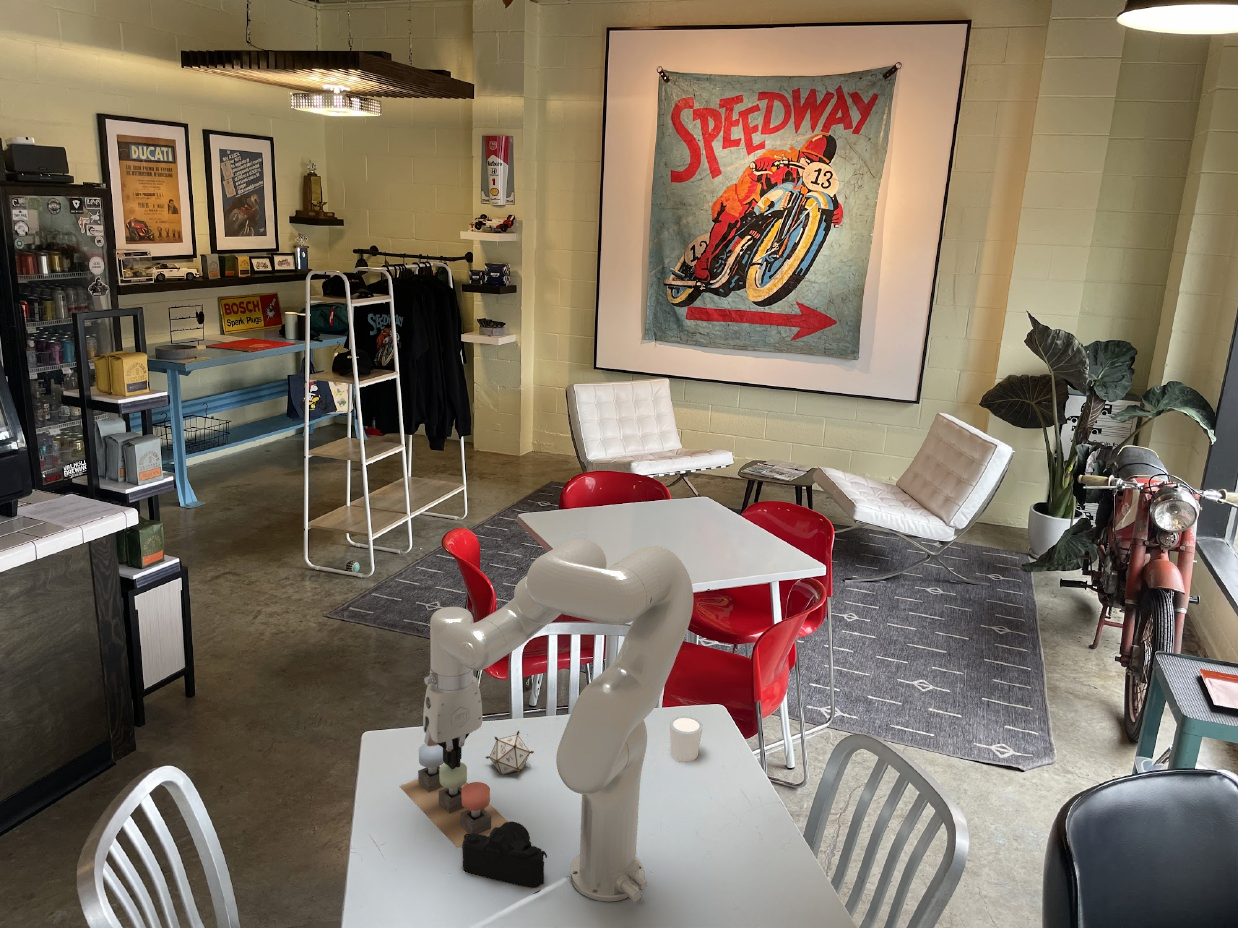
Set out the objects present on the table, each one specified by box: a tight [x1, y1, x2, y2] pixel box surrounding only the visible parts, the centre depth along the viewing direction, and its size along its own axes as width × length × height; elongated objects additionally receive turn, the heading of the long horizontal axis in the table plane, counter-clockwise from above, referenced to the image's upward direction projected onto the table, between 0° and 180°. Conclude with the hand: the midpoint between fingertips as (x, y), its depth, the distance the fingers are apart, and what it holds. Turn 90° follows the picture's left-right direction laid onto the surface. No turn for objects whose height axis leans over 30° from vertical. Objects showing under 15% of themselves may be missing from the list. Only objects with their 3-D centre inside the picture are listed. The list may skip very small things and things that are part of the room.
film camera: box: [461, 821, 548, 894], centre depth 158 cm, size 15×10×9 cm, turn 74°
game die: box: [484, 730, 535, 775], centre depth 185 cm, size 9×8×10 cm
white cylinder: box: [669, 715, 704, 763], centre depth 194 cm, size 7×7×7 cm
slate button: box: [418, 743, 445, 774], centre depth 178 cm, size 5×5×5 cm
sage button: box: [439, 761, 468, 795], centre depth 172 cm, size 5×5×5 cm
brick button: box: [462, 781, 491, 817], centre depth 167 cm, size 5×5×5 cm
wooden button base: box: [399, 765, 509, 849], centre depth 174 cm, size 22×11×4 cm, turn 39°
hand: (452, 764), depth 172 cm, fingers closed
